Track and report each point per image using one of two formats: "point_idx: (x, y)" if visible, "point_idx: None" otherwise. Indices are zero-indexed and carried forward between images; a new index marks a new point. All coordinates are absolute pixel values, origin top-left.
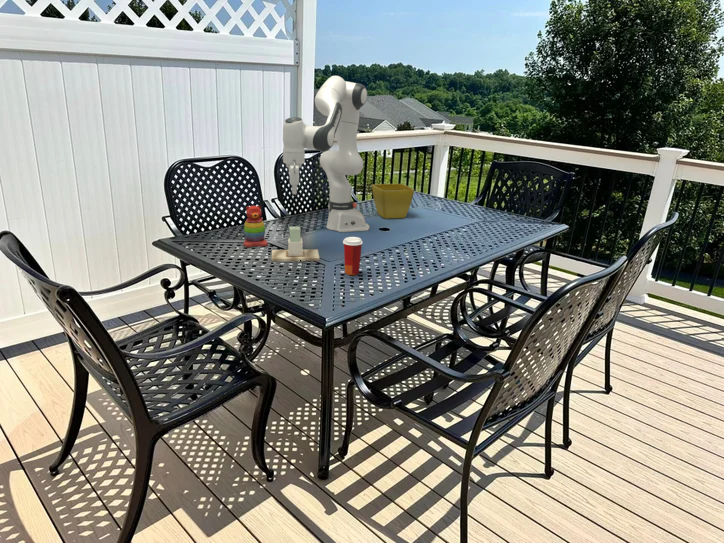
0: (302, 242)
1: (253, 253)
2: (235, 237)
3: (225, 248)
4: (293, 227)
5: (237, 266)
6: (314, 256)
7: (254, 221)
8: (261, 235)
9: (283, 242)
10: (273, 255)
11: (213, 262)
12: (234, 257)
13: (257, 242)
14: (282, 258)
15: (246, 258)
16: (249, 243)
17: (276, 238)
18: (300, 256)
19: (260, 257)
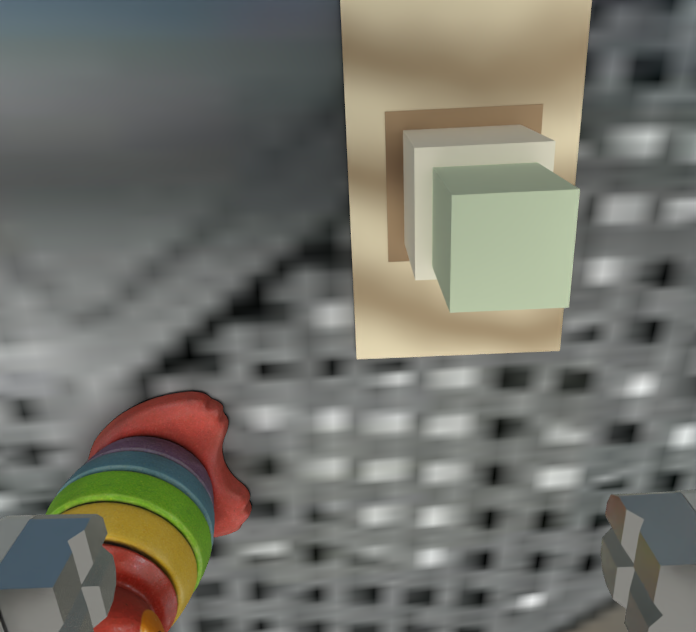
0: (554, 141)
1: (375, 458)
2: None
3: (278, 605)
4: (492, 269)
5: None
6: (544, 16)
7: (167, 600)
8: (184, 471)
9: (100, 285)
10: (486, 342)
11: (527, 625)
12: (449, 546)
13: (212, 465)
14: None
15: (473, 486)
16: (235, 508)
17: (4, 341)
18: None
19: (459, 413)
